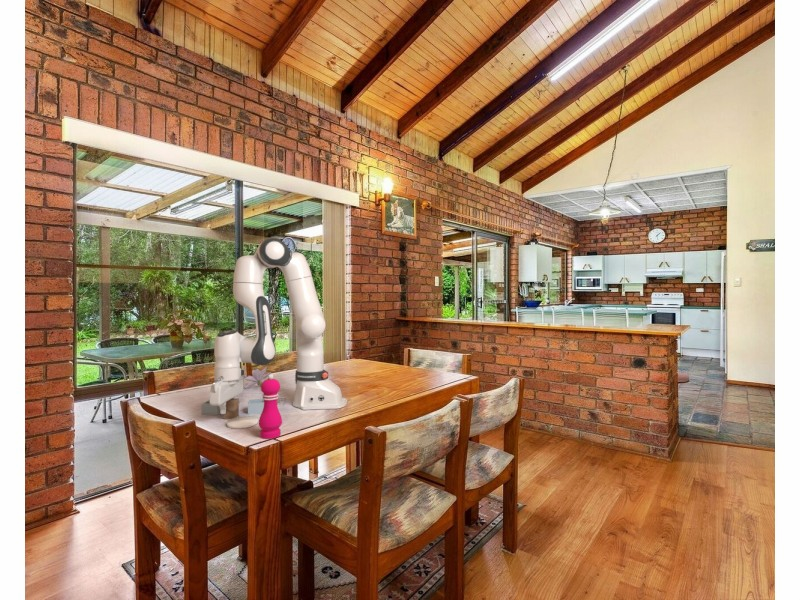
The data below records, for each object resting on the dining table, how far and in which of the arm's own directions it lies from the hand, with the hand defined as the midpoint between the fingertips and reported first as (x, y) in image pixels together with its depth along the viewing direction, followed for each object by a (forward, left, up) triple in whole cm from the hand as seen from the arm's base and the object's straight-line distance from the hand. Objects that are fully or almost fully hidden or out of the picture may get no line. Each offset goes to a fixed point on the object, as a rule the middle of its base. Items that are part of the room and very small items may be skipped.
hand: (227, 411), depth 152 cm
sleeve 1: (+8, -6, -2) cm, 11 cm away
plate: (-9, +7, -2) cm, 12 cm away
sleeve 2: (-8, -8, -2) cm, 12 cm away
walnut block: (-2, 0, -2) cm, 3 cm away
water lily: (+7, -49, -2) cm, 49 cm away
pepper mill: (-23, +19, -2) cm, 30 cm away
